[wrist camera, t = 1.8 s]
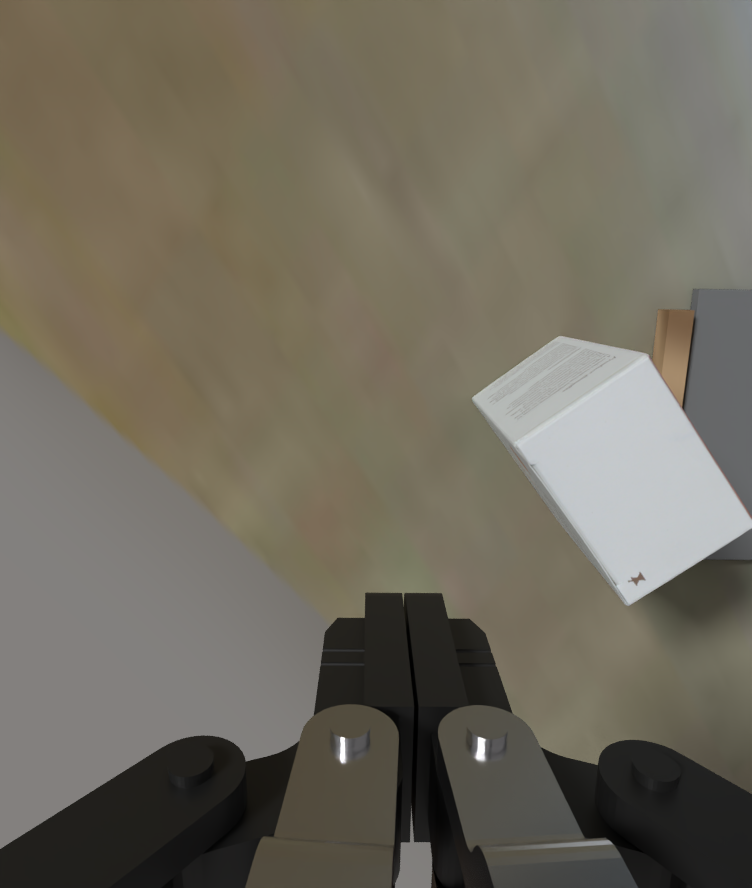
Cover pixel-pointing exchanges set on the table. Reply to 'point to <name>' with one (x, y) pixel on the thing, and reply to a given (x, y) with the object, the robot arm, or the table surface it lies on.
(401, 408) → the table surface
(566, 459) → the small box
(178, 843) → the robot arm
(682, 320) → the oak ledge
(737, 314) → the rubber mat
